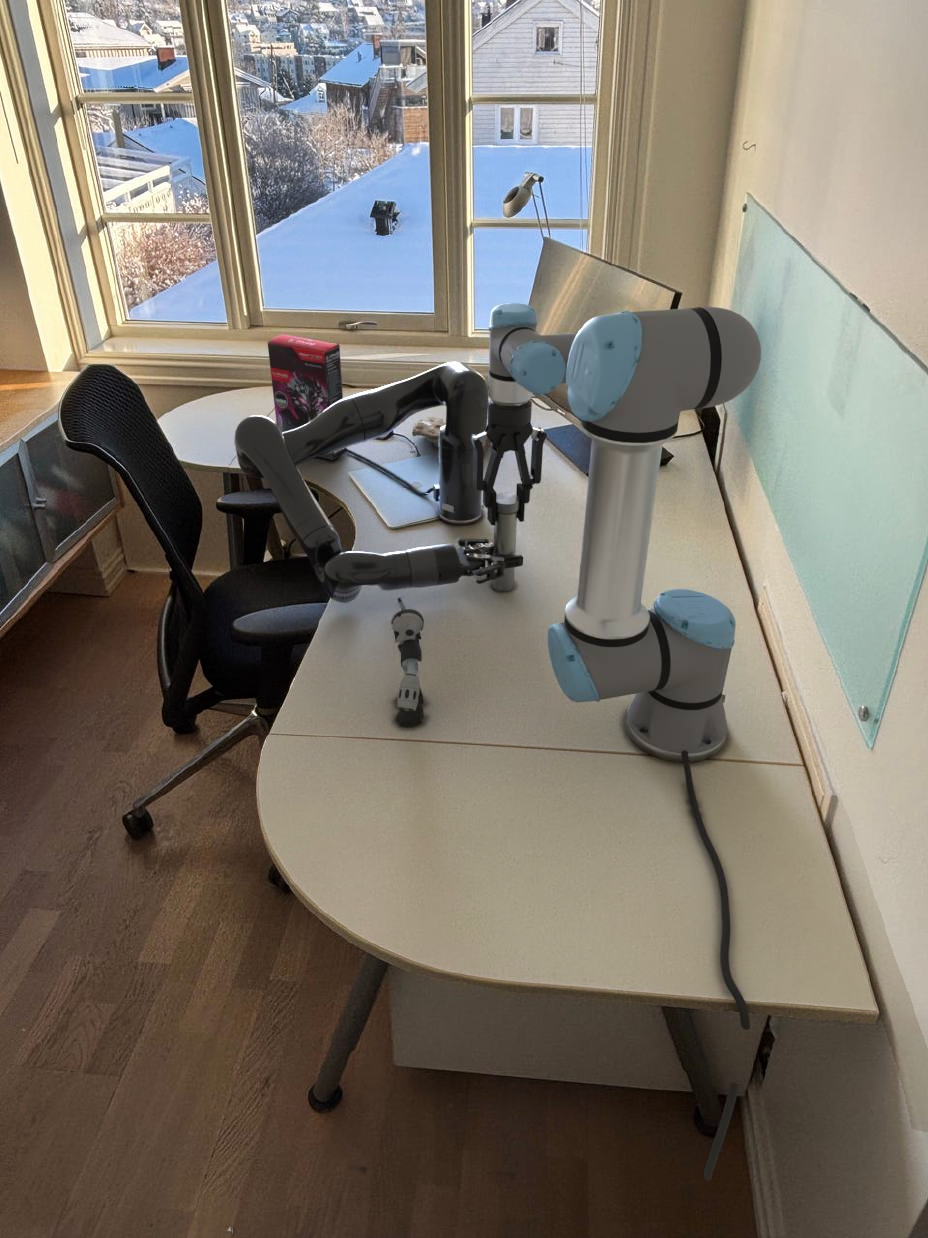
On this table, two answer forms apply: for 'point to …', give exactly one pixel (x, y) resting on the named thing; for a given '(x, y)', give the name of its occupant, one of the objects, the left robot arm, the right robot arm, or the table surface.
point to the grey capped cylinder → (505, 547)
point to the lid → (507, 503)
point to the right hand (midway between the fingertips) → (505, 519)
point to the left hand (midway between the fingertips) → (517, 553)
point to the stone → (433, 430)
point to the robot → (409, 665)
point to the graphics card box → (304, 380)
